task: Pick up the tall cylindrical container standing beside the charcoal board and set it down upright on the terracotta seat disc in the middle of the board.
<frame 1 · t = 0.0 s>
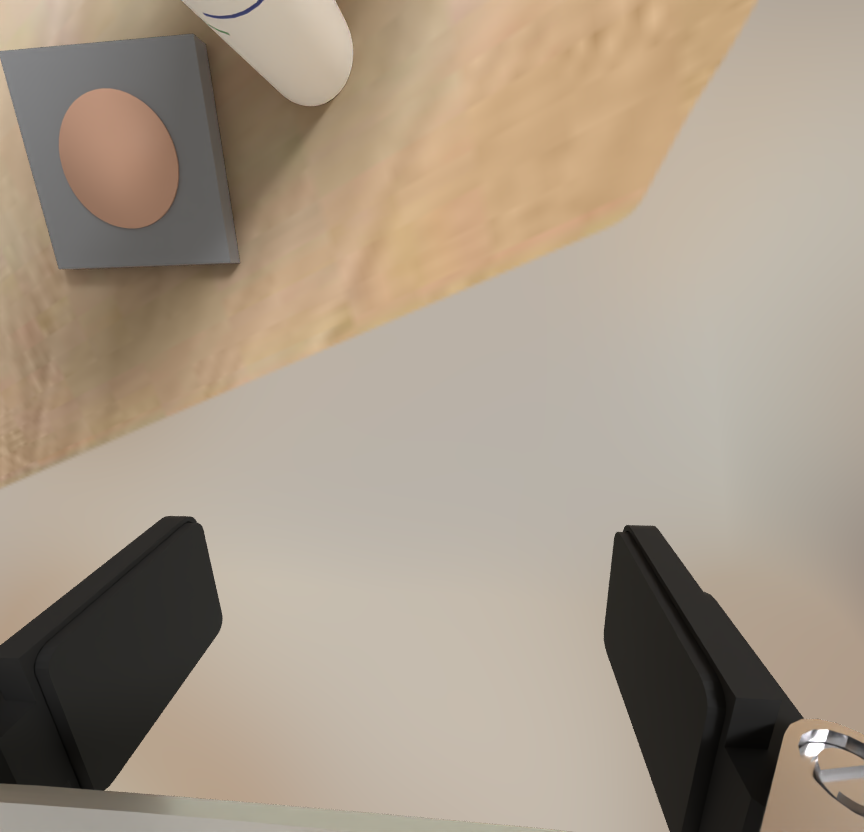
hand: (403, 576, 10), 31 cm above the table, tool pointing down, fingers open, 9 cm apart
cylindrical container: (308, 52, 34), on the table
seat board: (134, 166, 37), on the table
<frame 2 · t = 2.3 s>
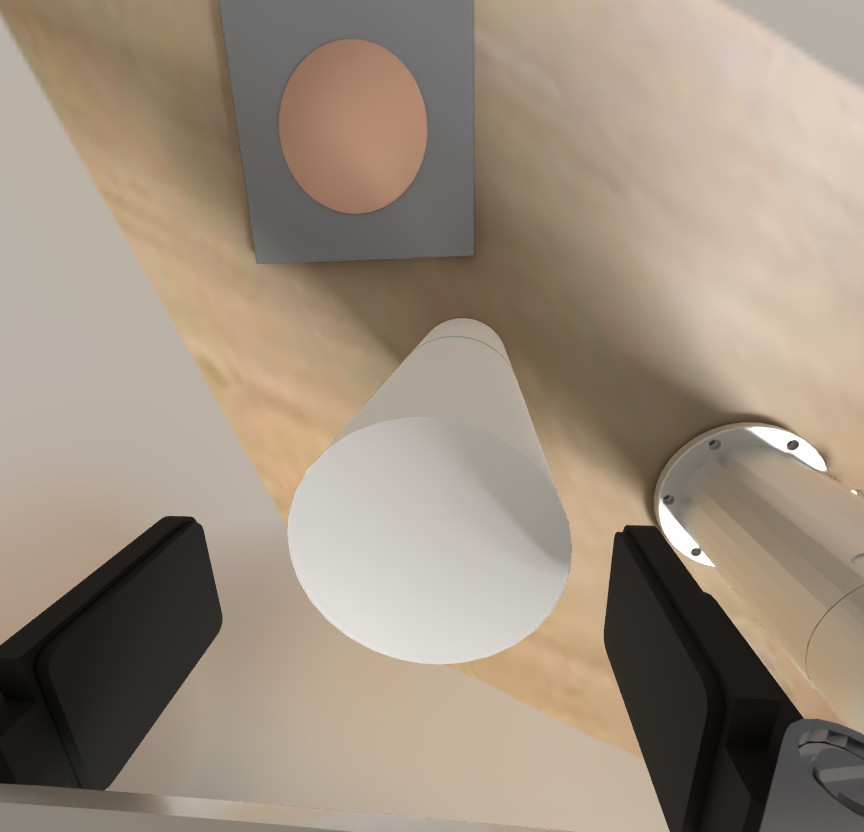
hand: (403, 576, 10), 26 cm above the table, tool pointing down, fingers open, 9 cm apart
cylindrical container: (461, 363, 35), on the table
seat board: (359, 138, 31), on the table
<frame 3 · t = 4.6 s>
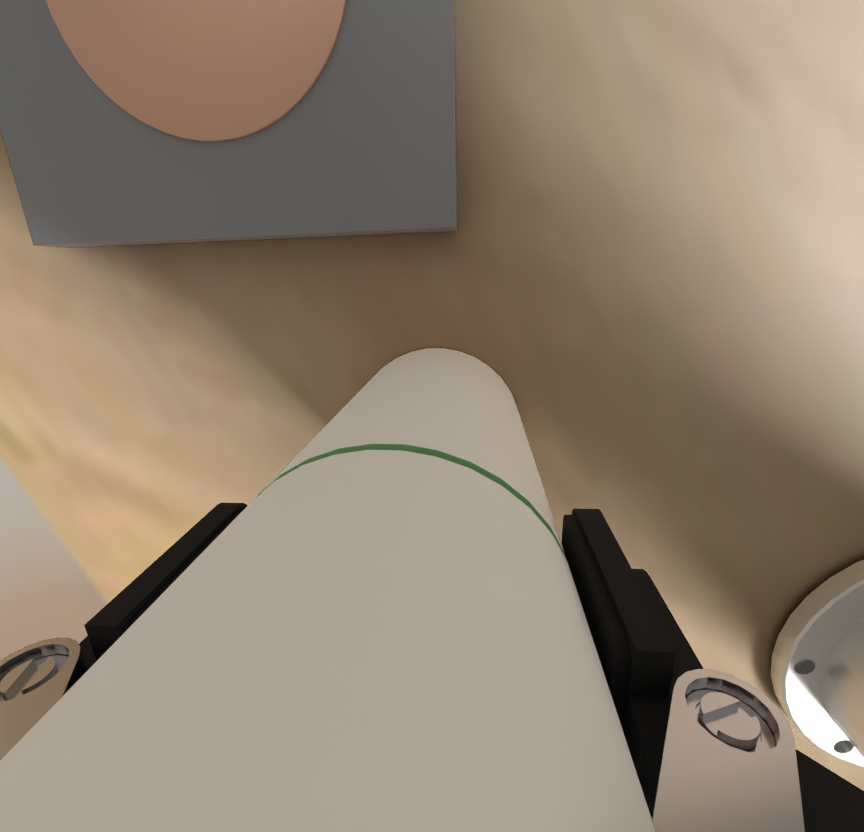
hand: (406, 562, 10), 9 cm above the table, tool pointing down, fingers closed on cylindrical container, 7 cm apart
cylindrical container: (437, 427, 19), on the table, touching gripper
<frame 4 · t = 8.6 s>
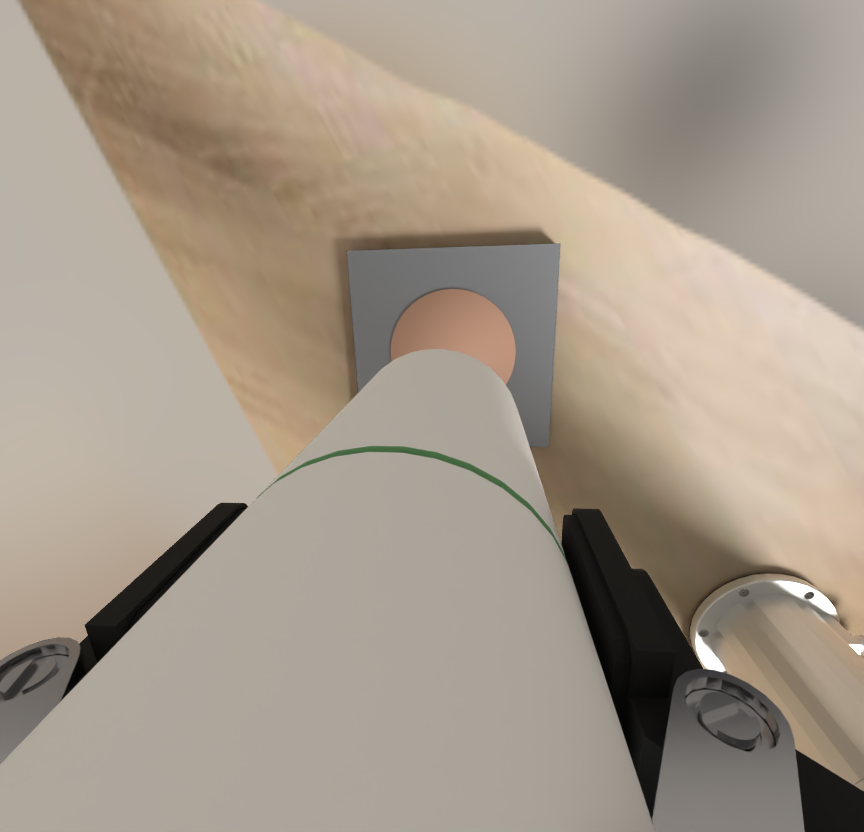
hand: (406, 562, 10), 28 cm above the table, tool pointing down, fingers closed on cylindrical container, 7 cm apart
cylindrical container: (437, 428, 19), point 18 cm above the table, touching gripper
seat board: (453, 350, 37), on the table
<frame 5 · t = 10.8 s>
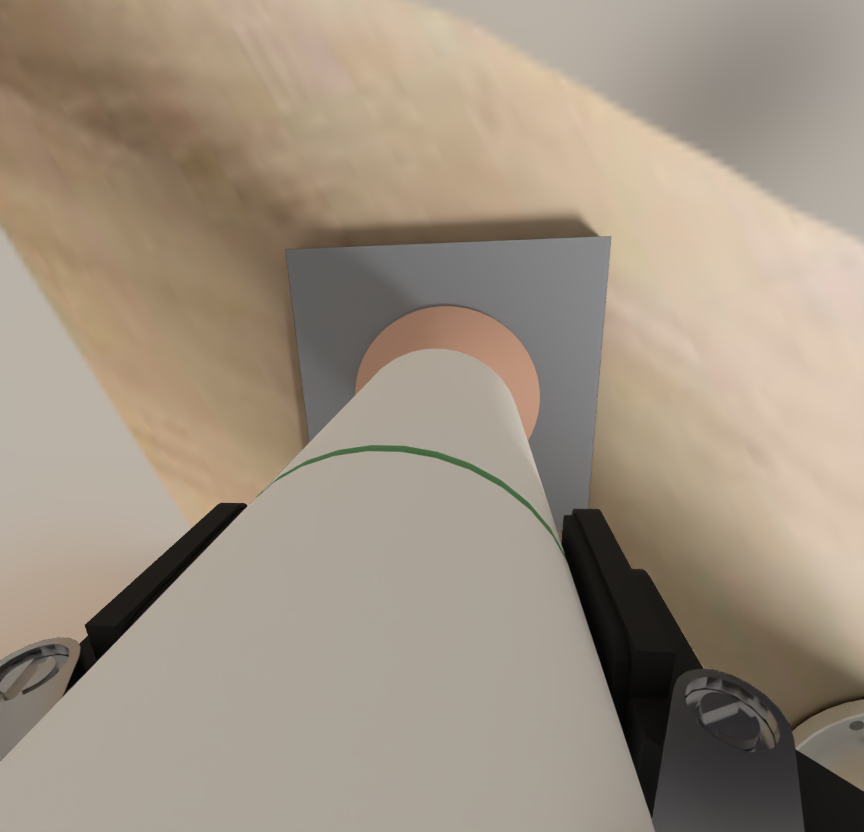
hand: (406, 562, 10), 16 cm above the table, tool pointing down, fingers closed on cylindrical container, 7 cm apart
cylindrical container: (437, 428, 19), point 6 cm above the table, touching gripper
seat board: (447, 392, 25), on the table
when the fingers open (12 cm above the table, at t = 12.6 s): cylindrical container stays where it is, resting on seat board.
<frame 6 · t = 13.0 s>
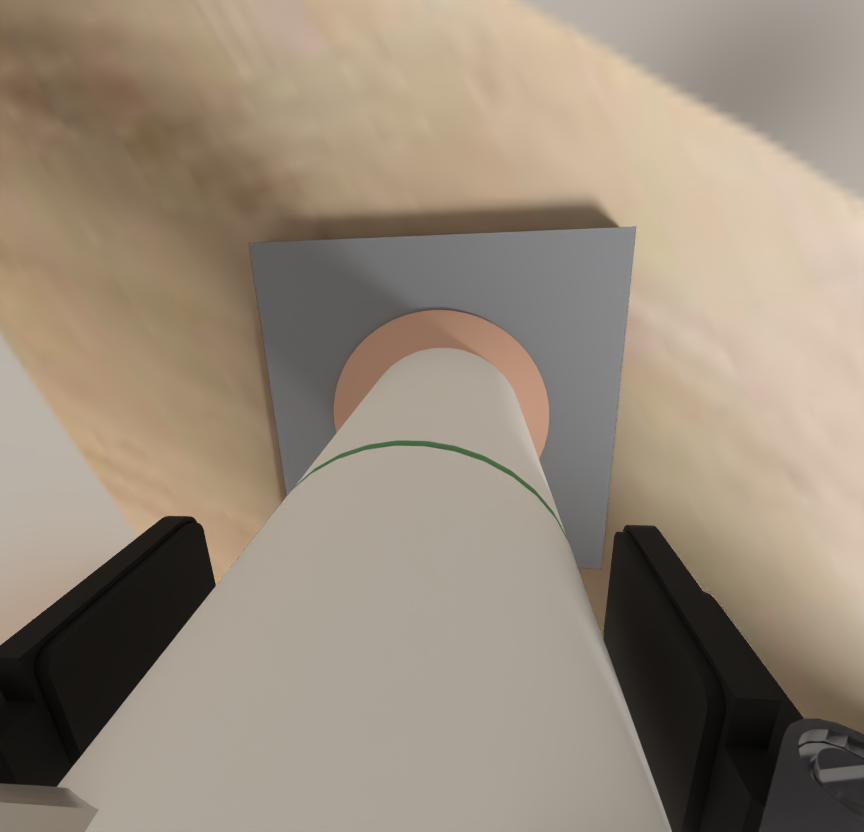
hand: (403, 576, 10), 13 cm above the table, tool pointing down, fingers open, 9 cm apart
cylindrical container: (443, 422, 20), point 2 cm above the table, touching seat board
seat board: (441, 409, 22), on the table
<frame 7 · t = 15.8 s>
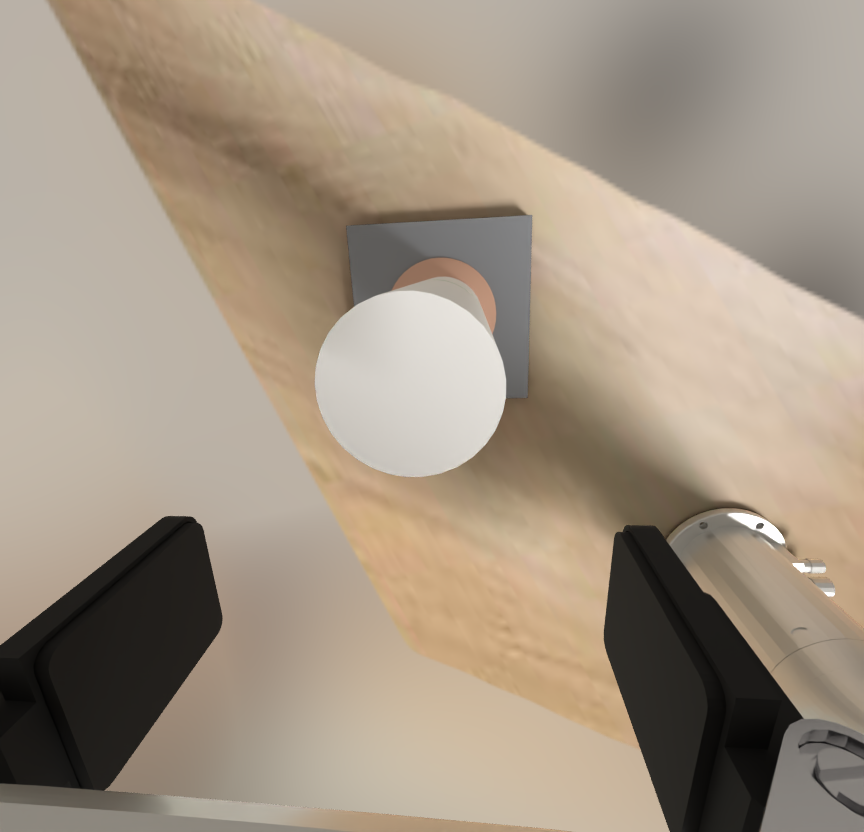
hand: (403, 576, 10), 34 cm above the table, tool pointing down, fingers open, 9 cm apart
cylindrical container: (442, 317, 40), point 2 cm above the table, touching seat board
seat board: (442, 313, 42), on the table
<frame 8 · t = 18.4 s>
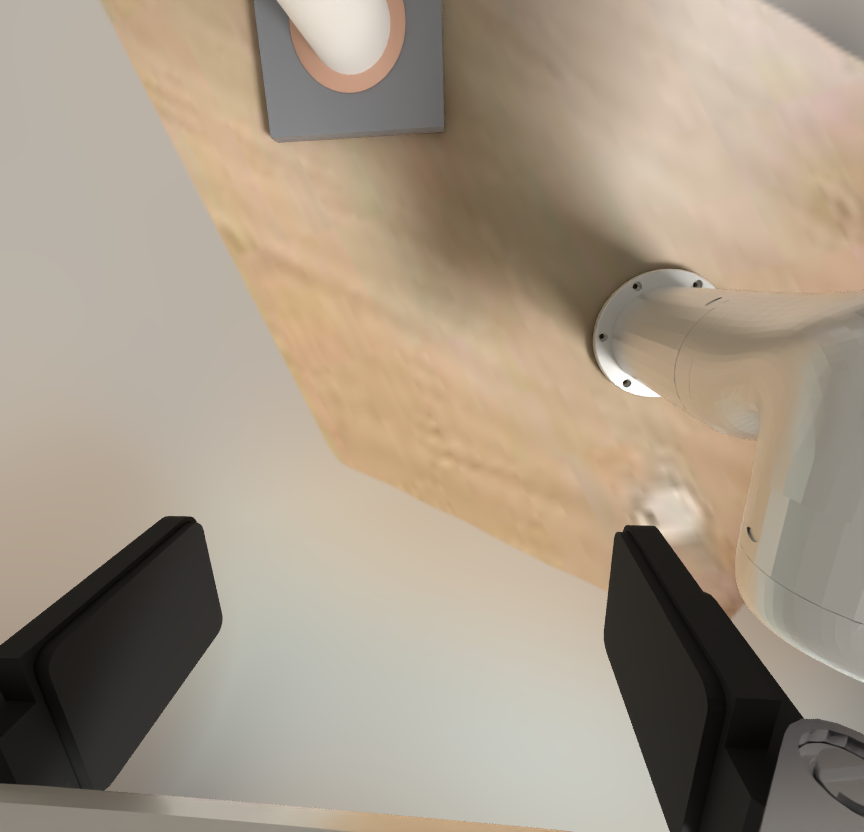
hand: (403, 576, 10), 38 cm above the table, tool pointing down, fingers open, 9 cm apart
cylindrical container: (349, 25, 37), point 2 cm above the table, touching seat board
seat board: (352, 33, 39), on the table
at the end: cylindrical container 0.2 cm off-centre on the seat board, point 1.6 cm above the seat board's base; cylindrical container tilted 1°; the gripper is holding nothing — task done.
